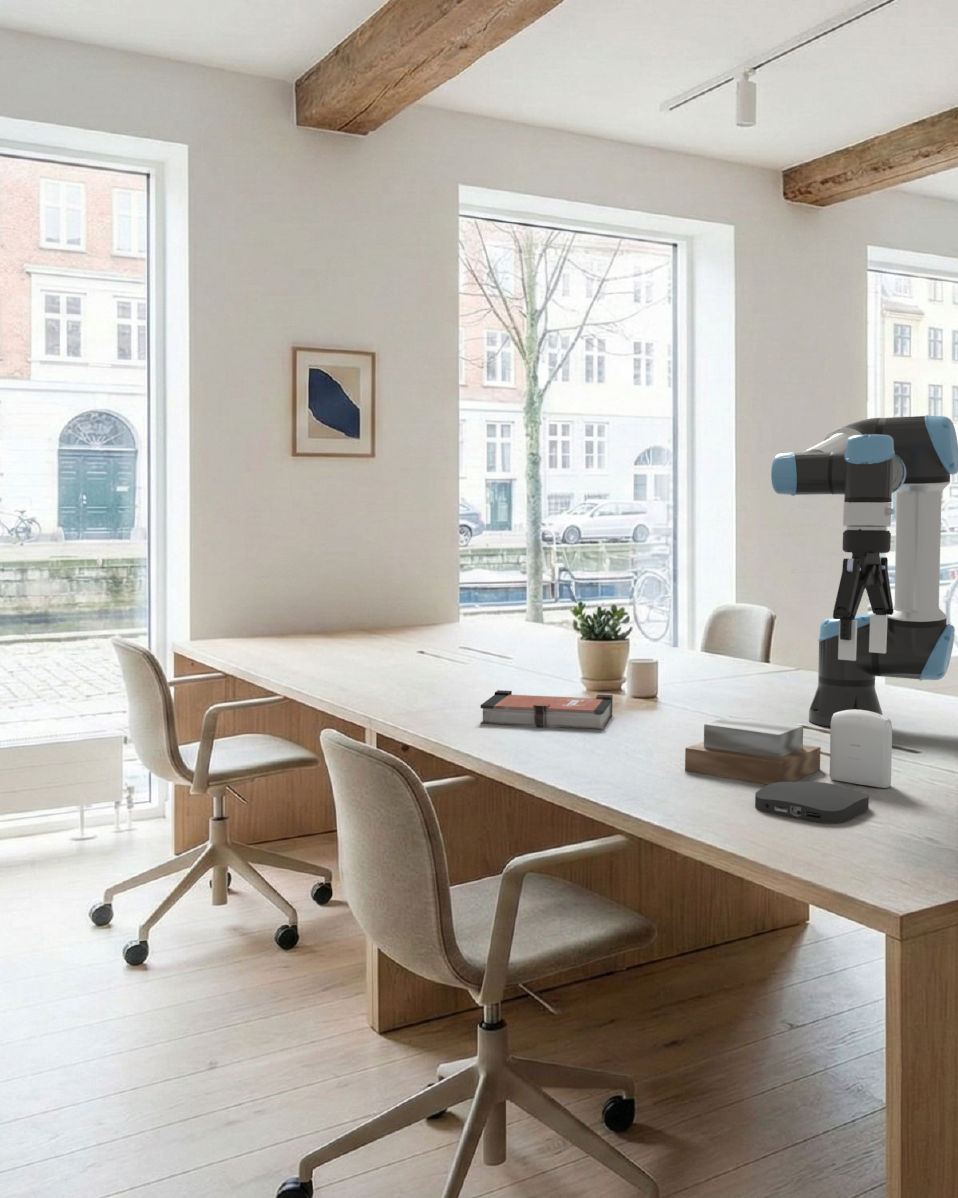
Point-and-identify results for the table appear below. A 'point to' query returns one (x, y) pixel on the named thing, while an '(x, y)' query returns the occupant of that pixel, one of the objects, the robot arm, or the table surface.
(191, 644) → the table surface
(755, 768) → the grey block on wood
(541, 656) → the table surface
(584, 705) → the book
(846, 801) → the media streaming box
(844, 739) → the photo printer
